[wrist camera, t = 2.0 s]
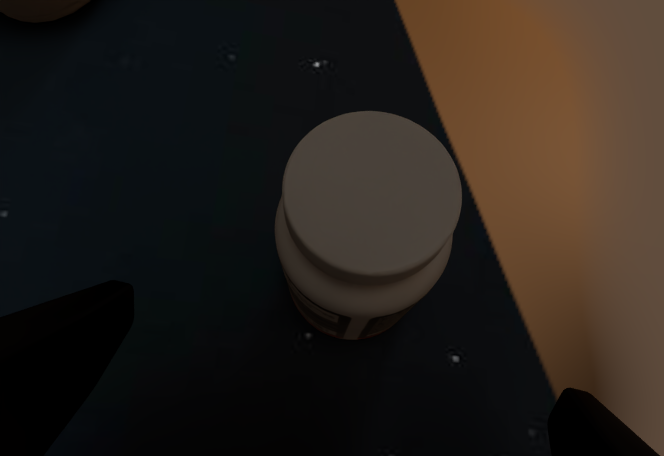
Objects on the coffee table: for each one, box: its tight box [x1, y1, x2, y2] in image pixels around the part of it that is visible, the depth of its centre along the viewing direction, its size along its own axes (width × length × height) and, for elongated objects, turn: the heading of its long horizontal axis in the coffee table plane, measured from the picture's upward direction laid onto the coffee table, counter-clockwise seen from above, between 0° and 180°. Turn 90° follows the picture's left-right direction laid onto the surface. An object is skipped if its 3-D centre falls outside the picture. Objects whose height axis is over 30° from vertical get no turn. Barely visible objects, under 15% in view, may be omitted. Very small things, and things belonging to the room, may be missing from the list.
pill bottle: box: [275, 111, 462, 340], centre depth 16 cm, size 6×6×10 cm
